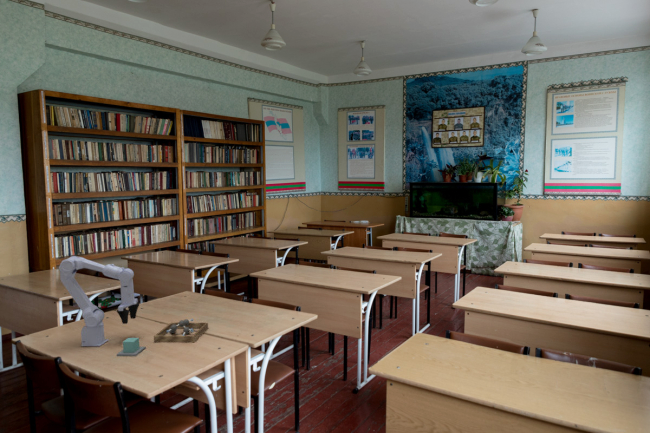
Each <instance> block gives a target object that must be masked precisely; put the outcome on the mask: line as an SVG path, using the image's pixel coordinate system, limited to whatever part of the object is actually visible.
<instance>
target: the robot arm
mask: <svg viewBox="0 0 650 433" xmlns="http://www.w3.org/2000/svg"><path fill="white" fill-rule="evenodd" d="M82 269H88V270H92V271H96V272H100V273H102V275H104V276H105V277H108V278H112V279H115V280H119V282H120V297H121V301H120V302H121V303H120V305H119V306H118V307H117V309H116V313H117V314H118V315H119V317H120V320H121V323H122V325H126V324H128V321H129V316H130V319H133V320H134V319H136V318H137V313H138V309H139V307H140V302H139V300H138V298H135V291H134V288H135V287H134V281H133V280H134V279H133V278H134V276H135V273H134V270H133V269H131V268H129V267H128V268H125V267H124V266H122V267H120V266H117V265H115V264H114V263H111V264H110V263H108V264H102V263H99V262H96V261H94V260H90V259H86V258H85V257H82V256H77V255H72V256H70V257H68V258H65V259H62V261H61V262H60V264H59V266H58V270H59V276H60V277H59V278H60V282H61V283H62V285H63V286H64V287H65V290H67V292H68V294H69V295H70V296H71V297H72V299H73V300H74V302H75V304H77V306H78V308H79V309H80V310H81V313H82V314H81V316H82V319H83V320H84V324H85V325H83V326H82V328H81V332H80V338H81V345H80V346H81V347H100V346H101V347H102V345H103V344H105V343H107V342H108V341H109V338H108V339H107V338H106V339H105V327H104V322H103V320H104V318H105V313H104V311H103V310H102V309H100V308H98V306H97V305H95V304H93V302H92V301H91V300H90V298H89V297H88V296H87V294H86V293H85V291H84V290H83V288H82V286H81V285H80V283H78V281H77V279H76V278H75V276H76V273H77V271H78V270H82Z"/></svg>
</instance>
